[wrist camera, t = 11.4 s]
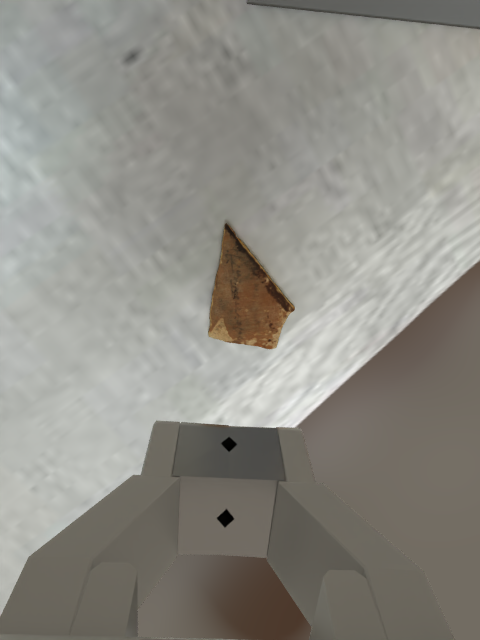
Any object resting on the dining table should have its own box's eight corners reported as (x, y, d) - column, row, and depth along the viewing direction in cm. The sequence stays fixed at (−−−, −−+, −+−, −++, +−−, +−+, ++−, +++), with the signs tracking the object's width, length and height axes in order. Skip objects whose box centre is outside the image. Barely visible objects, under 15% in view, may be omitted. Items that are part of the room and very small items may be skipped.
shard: (225, 220, 39) (225, 223, 37) (309, 235, 40) (313, 240, 38) (205, 332, 43) (204, 340, 41) (282, 344, 44) (285, 352, 42)
